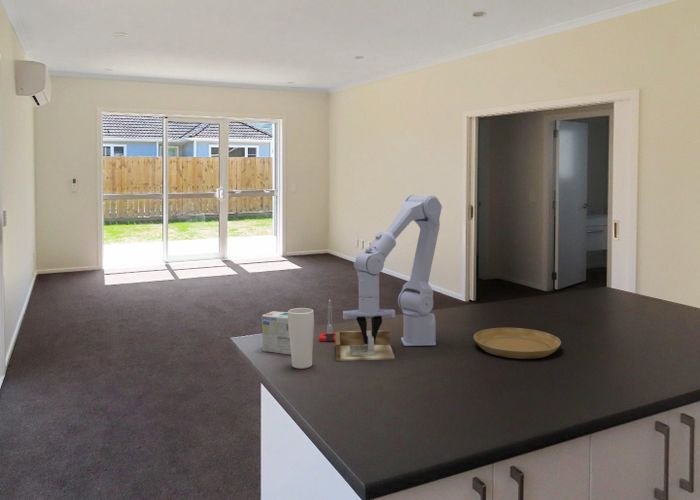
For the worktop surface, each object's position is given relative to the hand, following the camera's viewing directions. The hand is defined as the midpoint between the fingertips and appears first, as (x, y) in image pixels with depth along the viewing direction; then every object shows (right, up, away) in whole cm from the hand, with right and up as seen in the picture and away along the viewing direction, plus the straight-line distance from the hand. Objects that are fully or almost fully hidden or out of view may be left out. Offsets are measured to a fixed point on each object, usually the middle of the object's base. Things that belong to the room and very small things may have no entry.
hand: (369, 342), depth 162 cm
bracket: (-2, -2, 0) cm, 3 cm away
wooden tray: (-1, -3, +1) cm, 3 cm away
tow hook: (-11, -2, +17) cm, 20 cm away
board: (-1, -3, +1) cm, 3 cm away
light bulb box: (-25, -3, +5) cm, 25 cm away
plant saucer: (+42, -3, +4) cm, 43 cm away
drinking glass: (-18, -5, -10) cm, 21 cm away
